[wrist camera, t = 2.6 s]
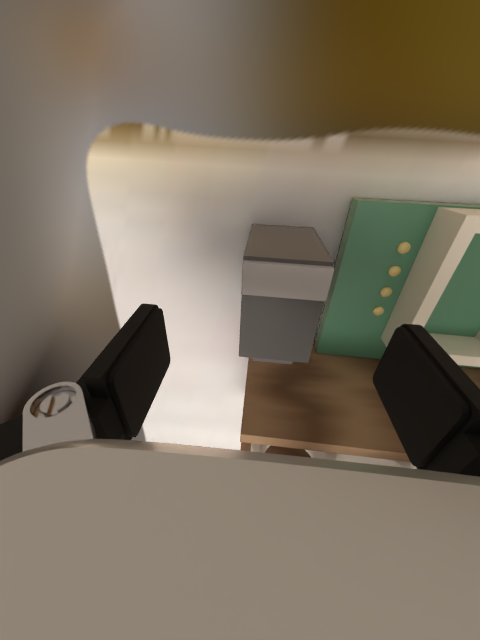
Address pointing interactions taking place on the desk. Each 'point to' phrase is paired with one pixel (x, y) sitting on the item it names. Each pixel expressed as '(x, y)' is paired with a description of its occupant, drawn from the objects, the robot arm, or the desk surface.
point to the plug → (282, 293)
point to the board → (405, 279)
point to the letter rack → (320, 408)
